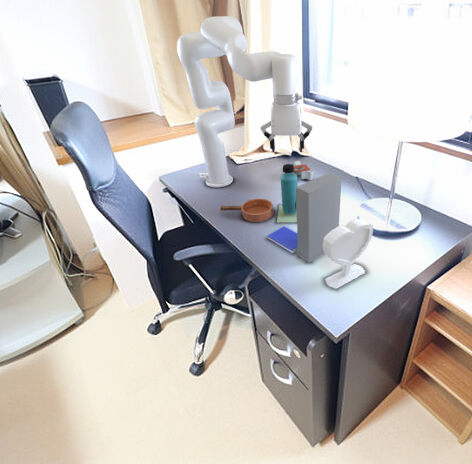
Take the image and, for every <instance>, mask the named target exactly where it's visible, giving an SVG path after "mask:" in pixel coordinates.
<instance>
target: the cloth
mask: <svg viewBox="0 0 472 464" xmlns="http://www.w3.org/2000/svg"><path fill="white" fill-rule="evenodd" d="M277 212H278V213H277V217H276V223H277V224H297V212H296V213H293V214H287V213H285V212H284V211H283V207H282V204H279V205H278V211H277Z"/></svg>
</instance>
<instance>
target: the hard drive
mask: <svg viewBox="0 0 472 464" xmlns="http://www.w3.org/2000/svg"><path fill="white" fill-rule="evenodd" d="M267 239H268V240H269V241H271V242H273V243H275V244H276V245H277V246H280V247H282V248H283V249H285V250H287V251H288V252H290V253H291V254H295V253H296V252H297V251H298V235H297V231H294V230H292V229H290V228H288V227H286V226H282V227H280V228H278V229H277V230H275V231H272V232H271V233H269V234H268V235H267Z"/></svg>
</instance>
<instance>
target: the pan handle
mask: <svg viewBox="0 0 472 464" xmlns="http://www.w3.org/2000/svg"><path fill="white" fill-rule="evenodd" d="M241 207H242V205H220V211H241Z"/></svg>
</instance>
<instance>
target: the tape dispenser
mask: <svg viewBox="0 0 472 464" xmlns="http://www.w3.org/2000/svg"><path fill="white" fill-rule="evenodd" d="M292 165H293V166H294V172H292V173H294V174H296V175H297V177H299V176H300V179H301V180H305V181H311V180H314V172H315V171H314V170H312V169H311V167H309V166H308V165H307V164H302V162H301V161H300V160H295V161H294V162H293V163H292Z"/></svg>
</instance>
